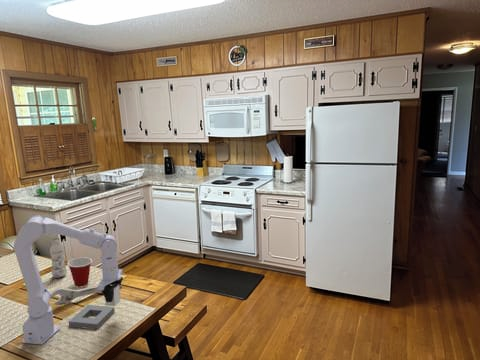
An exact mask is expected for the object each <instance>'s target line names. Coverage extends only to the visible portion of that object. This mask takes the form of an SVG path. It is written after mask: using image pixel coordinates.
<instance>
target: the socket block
mask: <svg viewBox="0 0 480 360" xmlns="http://www.w3.org/2000/svg"><path fill="white" fill-rule="evenodd" d="M114 311H115V306H109V305H96V304H94V305H93V304H87V305H85V307H84V308H82V309H81V310H80V311H79V312H78V313H77V314H75V315H74V316H73V317H72V318H70V320H69V321H68V326H69V327H72V326H73V327H75V328H82V327H85V329H93V328H96V329H95V330H98V329H99V328H100V327H101V326H103V324H104V323H105V322H106V321H107V320H108V319H109V318H110V317H111V316H112V315H113V314H114V313H115V312H114ZM113 312H114V313H113ZM94 314H96V316H95V318H94V317H90V316H91V315H94ZM106 319H107V320H106Z"/></svg>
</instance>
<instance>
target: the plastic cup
mask: <svg viewBox="0 0 480 360" xmlns="http://www.w3.org/2000/svg"><path fill="white" fill-rule="evenodd" d="M66 263H67V266H68V268H69V271H70V273H71V277H72V280H73V283H74V286H75V287H76V286H78V287H77V288H81V286H82V287H85V286H87V285H88V284H89V277H90V272H91V271H90V270H91V266H92V265H91V264H92V263H93V259H92V258H90V257H76V258H72V259H70V260H68V261H67V262H66Z"/></svg>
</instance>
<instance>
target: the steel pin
mask: <svg viewBox="0 0 480 360" xmlns="http://www.w3.org/2000/svg"><path fill="white" fill-rule="evenodd" d="M110 285H111V286H114V289H113V295H112V302H106V300H105V299H104V301H105V306H108V307H115V306H117V305H118V304H119V303H120V302H121V290H120V289H121V288H120V287H119V284H110Z"/></svg>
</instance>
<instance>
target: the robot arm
mask: <svg viewBox="0 0 480 360" xmlns="http://www.w3.org/2000/svg"><path fill="white" fill-rule="evenodd" d="M43 234H44V235H43ZM54 234H57V235H62V236H64V237H67V238H68V237H69V238H72V239H76V240H78V241H79V244H81V245H84V246H87V247H91V248H95V249H97V250H98V249H99V250H100V252H101V256H100V257H101V258H100V259H101V271H102V273H101V274H102V278H101V280H100V282H99V284H97V285H96V286H98V290H101V292H100V293H102V296H103V297H104V301H105V300H106V302H112V295H113V289H114V286H111V285H110V284H119V287H120V285H121V283H122V282H123V279H124V278H123V276H121V275H123V273H124V271H123V270H124V269H123V268H119V266H118V265H119V262H118V254H117V247H118V245H117V240H116V237H115V236H114V235H112V234H111V233H102V232H101V233H100V232H98V231H95V229H94V228H84V229H82V230H81V229H78V228H76V227H74V226H70V225H68V224H65V223H62V222H60V221H57V220H54V219H52V218H50V217H44V216H42V215H32V216H31V217H30V218H28V220H26V222H24V224H23V226H22V227H21V228H20V230H19V231H18V233H17V235H16V238H15V240H14V243H13V251H14V253H15V254H14V255H15V257H16V260H17V263H18V266H19V269H20V273H21V276H22V279H23V282H24V284H25V289H26V291H27V300H26V301H27V303H28V306H27V308H26V309H27V311H26V312H27V314H28V318H27V320H26V321H24V323H23V325H22V333H23V334H22V335H23V340H22V343H24V344H32V345H33V344H34V345H43V344H44V343H45V342H46V341H48V340H49V339H51V337H53V336H54V334H57V332H58V331H59V330H60V329H61V327H58V326H55V322H54V314H53V307H52V305H50V302H51V300H52V298H51V292H50V291H49V290H48V289H47V287H46V284H44V283H43V280H42V277H41V274H40V269H39V267H38V264H37V263H38V262H37V261H36V257H35V254H34V250H33V246H32V244H33V243H34V242H35V241H37V240H39V239H40V238H41V237H43V236H44V237H48V236H50V235H54Z"/></svg>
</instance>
